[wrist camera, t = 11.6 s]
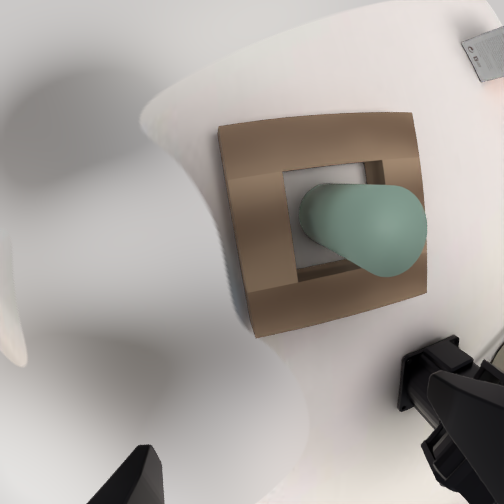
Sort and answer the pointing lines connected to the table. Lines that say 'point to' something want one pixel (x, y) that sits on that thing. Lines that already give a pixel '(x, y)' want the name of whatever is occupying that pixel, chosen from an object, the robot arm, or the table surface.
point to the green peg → (366, 224)
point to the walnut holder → (277, 217)
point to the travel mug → (499, 359)
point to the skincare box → (487, 54)
